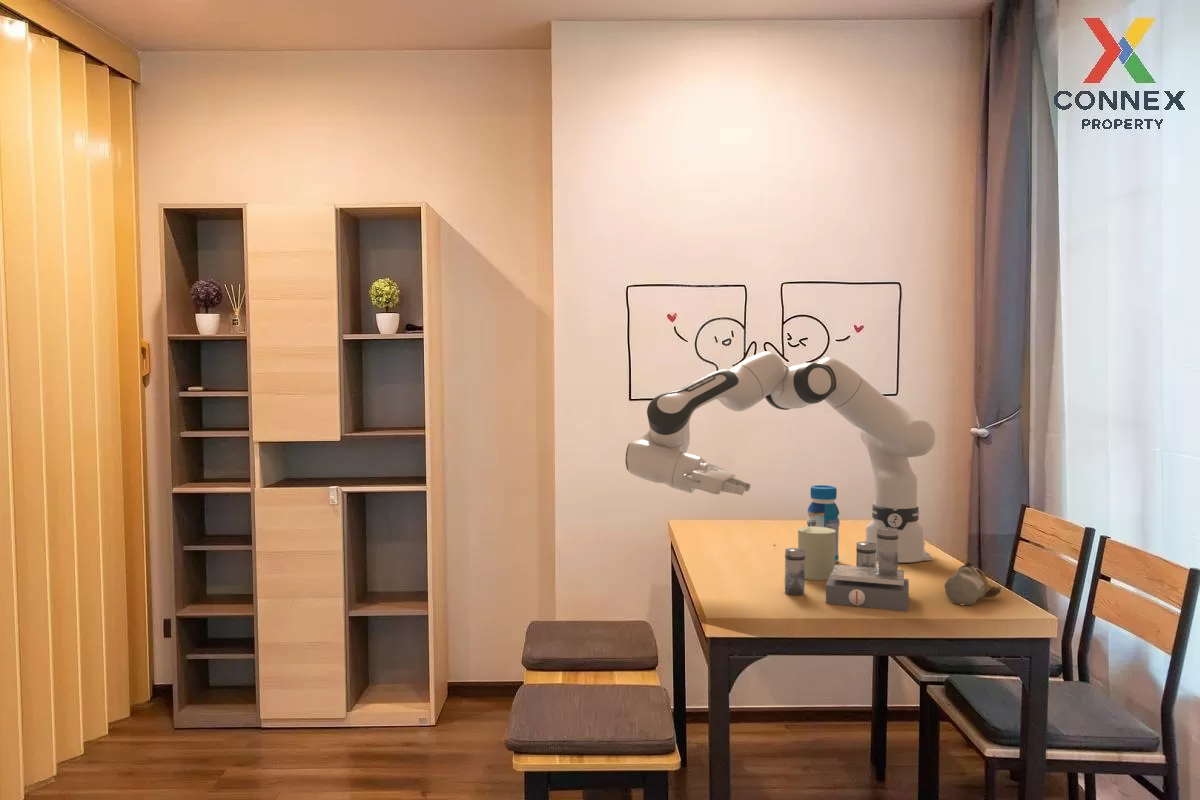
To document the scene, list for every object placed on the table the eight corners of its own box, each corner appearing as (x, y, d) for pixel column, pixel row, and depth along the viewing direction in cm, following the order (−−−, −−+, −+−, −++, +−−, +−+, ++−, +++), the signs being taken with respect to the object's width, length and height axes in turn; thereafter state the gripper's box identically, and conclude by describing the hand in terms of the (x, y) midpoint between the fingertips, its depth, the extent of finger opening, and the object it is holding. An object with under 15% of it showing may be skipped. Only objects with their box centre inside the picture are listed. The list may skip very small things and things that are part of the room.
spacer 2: (856, 582, 199) (857, 540, 198) (876, 583, 197) (876, 542, 197) (855, 586, 195) (855, 544, 194) (875, 588, 193) (875, 546, 193)
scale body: (830, 589, 192) (830, 572, 192) (908, 596, 186) (908, 579, 186) (825, 603, 180) (825, 585, 180) (908, 611, 174) (908, 593, 174)
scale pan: (834, 568, 190) (835, 564, 190) (903, 574, 185) (904, 570, 185) (831, 579, 181) (831, 574, 181) (903, 585, 176) (903, 580, 176)
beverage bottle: (840, 565, 216) (841, 489, 215) (807, 563, 217) (808, 488, 217) (837, 558, 224) (838, 484, 223) (805, 556, 226) (806, 484, 225)
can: (789, 573, 207) (790, 525, 207) (820, 570, 211) (821, 523, 210) (811, 582, 199) (812, 532, 198) (843, 578, 202) (843, 530, 202)
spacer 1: (786, 589, 192) (786, 547, 191) (805, 591, 190) (806, 548, 190) (783, 594, 188) (783, 551, 187) (803, 596, 186) (803, 552, 186)
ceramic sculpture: (933, 562, 181) (956, 555, 193) (931, 602, 181) (954, 592, 193) (984, 571, 174) (1005, 562, 185) (982, 612, 174) (1003, 601, 185)
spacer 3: (876, 570, 185) (877, 526, 184) (898, 572, 183) (898, 527, 183) (875, 575, 180) (876, 530, 180) (897, 577, 179) (898, 531, 178)
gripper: (684, 462, 184) (744, 479, 179) (701, 458, 203) (756, 473, 199) (677, 490, 184) (737, 507, 180) (695, 482, 203) (749, 498, 199)
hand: (747, 489), depth 189 cm, fingers open, 8 cm apart
